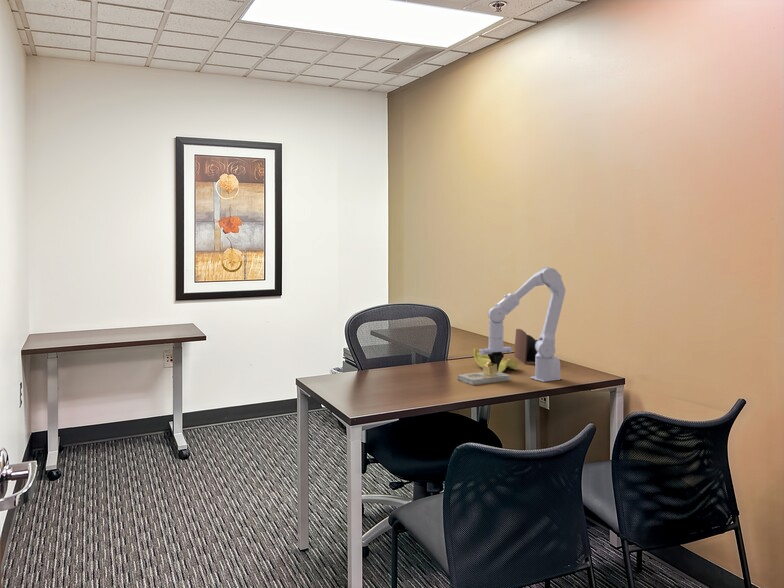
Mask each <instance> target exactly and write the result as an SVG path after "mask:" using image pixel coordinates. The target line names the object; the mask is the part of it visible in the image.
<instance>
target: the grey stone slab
mask: <svg viewBox="0 0 784 588" xmlns="http://www.w3.org/2000/svg"><path fill="white" fill-rule="evenodd" d="M457 380H458V381H459V380H460V382H463V383H465V384H469V385H471V386H475V385H484V384H485V385H486V384H493V383H501V382H506V381H507V382H508V381H511V375H510V374H508V373H505V372H498V373H496V374H493V375H491V376H490V375H486V374H483V371H479V372H471V373H463V374H457Z"/></svg>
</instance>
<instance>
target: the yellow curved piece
mask: <svg viewBox="0 0 784 588" xmlns="http://www.w3.org/2000/svg"><path fill="white" fill-rule="evenodd" d="M479 350H480V349H479ZM479 350H478V349H477V348H473V358H474V360H475V362H476V363H477V365H478V366H479V367H481V368H482V369H483V367H482V365H484V364H486V363H487V362H491V360H490V358H489V356H488V354H485V355H480V354H479ZM518 367H519V363H518V362H517V361H515V360H513V359H511V358H507V360H506V359H503V358H502V360H501V362H500V365H499V368H498V372H502V373H504V372H505V371H506V369H508V368H509V370H512V369H513V371H516V370H517V368H518Z"/></svg>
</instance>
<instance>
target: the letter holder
mask: <svg viewBox="0 0 784 588" xmlns="http://www.w3.org/2000/svg"><path fill="white" fill-rule="evenodd" d="M514 337H515V340H514V357H516V358H517V359H518V360H519V361H521V363H523V364H524V365H535V357H536V356H535V355H536V354H537V351H536V349H535V344H536V342H537V341H538V339H535V338H534V337H533V336H532V335H530V334H527V333H526V331H524V330H523V329H522V328H516V330H515V336H514Z"/></svg>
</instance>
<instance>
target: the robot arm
mask: <svg viewBox="0 0 784 588" xmlns="http://www.w3.org/2000/svg"><path fill="white" fill-rule="evenodd" d="M544 284H545V285H544ZM539 286H547V288H548V289H549V291H550V293H551V295H550V297H549V302H548V306H547V311H546V314H545V317H544V318H545V319H544V322H543V327H542V330H541V333H540V335H539V337H538V339H537V340H538V341H537V342H536V344H535V349H536V351H537V354H536V355H535V356H536V357H535V364H534V365H535V366H534V375H533V376H530V377H529V378H530V379H532V380H536V381H539V382H543V383H545V382H552V381H553V382H554V381H559V380H560V379H561V380H562V377H561V361H560V358H559V357H557V356H556V355H555V353H556V346H555V342H556V332H557V328H558V323H559V319H560V315H561V312H562V306H563V304H564V300H565V295H566V288H565V285H564V282H563V278H562V275H561V274H560V273H559V272H558V270H557V269H556V268H553V267H548V266H544V267H542V268H540V270H539V271H536V272H535V273H534V274H532V276H530V277H529V278H528V279H527V280H526V281H525V282H524V283H523V284H522V285H521V286H520V287H519V288H518V289H517V290H516V291H515V292H514V293H508V294H504V295H503V297H504V298H502V299H501V300H500V301H499V302H496V303H495V304H494V305H495V306H493V307H491V308H490V309H489V311H488V313H487V316H488V318H489V319H488V320H489V321H488V324H489V325H488V347H485V348H482V349H481V348H480V349H479V354H480V355H485V354H487V355H488V356H489V358H490V360H491V362H492V363H495V364H497V370H498V368H499V365H500V362H501V360H502V359H503V358H504V357H505V355H504V353H512V351H513V347H512V346H504V320H505V319H506V316H507V315H509V314H510V313H511V312H512V311H513V310H514V309H515V308H516V307H518V306H519V305H520V300H521V299H522V298H524V296H525V295H526V296H527V294H528V293H529V292H531V290H533V289H534V288H535V287H539Z"/></svg>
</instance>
